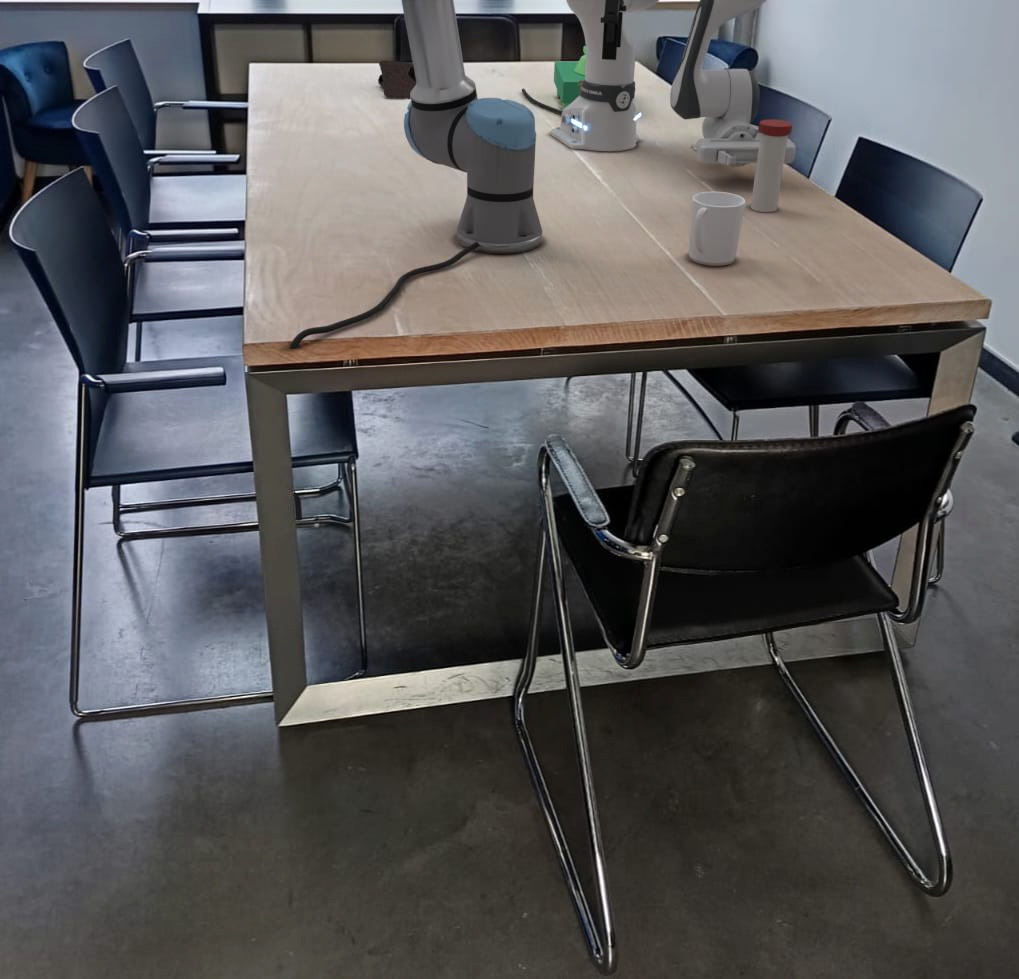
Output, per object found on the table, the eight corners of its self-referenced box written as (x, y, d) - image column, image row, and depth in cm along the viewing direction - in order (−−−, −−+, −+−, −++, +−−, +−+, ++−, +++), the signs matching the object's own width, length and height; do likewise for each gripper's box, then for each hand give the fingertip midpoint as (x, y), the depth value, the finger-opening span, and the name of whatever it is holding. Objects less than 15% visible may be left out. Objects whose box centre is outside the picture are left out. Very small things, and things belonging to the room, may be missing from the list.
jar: (774, 213, 213) (787, 129, 204) (748, 210, 214) (760, 126, 206) (778, 206, 217) (790, 123, 208) (753, 203, 218) (764, 121, 210)
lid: (788, 137, 204) (790, 128, 204) (755, 134, 206) (757, 124, 205) (793, 130, 209) (794, 121, 208) (760, 126, 211) (762, 117, 210)
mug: (702, 245, 195) (709, 188, 190) (747, 257, 190) (755, 198, 185) (669, 261, 188) (675, 202, 182) (714, 274, 183) (722, 213, 177)
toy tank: (616, 42, 301) (635, 67, 272) (613, 89, 308) (630, 118, 278) (553, 41, 300) (564, 66, 271) (550, 88, 307) (561, 117, 277)
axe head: (443, 87, 294) (392, 77, 287) (436, 115, 299) (385, 106, 292) (421, 62, 307) (371, 52, 300) (414, 89, 311) (365, 80, 304)
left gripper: (636, -62, 192) (627, 65, 203) (642, -74, 213) (633, 42, 224) (593, -63, 193) (586, 64, 204) (603, -75, 214) (597, 41, 225)
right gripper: (690, 129, 229) (706, 146, 217) (784, 128, 231) (806, 145, 219) (686, 159, 232) (702, 177, 221) (780, 158, 234) (801, 177, 223)
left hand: (611, 53), depth 214 cm, fingers open, 13 cm apart
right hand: (755, 161), depth 220 cm, fingers open, 8 cm apart
